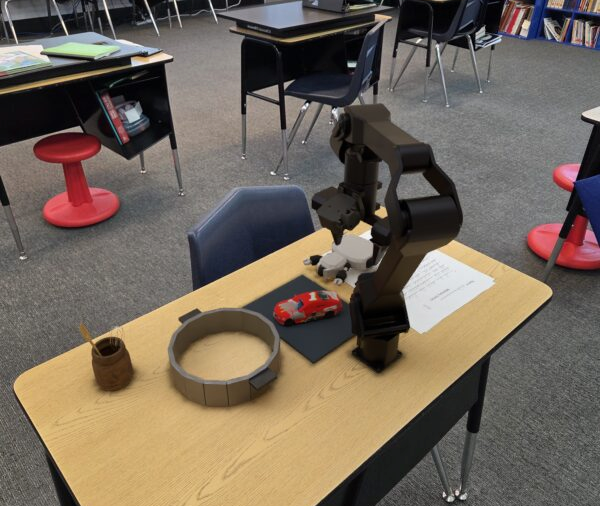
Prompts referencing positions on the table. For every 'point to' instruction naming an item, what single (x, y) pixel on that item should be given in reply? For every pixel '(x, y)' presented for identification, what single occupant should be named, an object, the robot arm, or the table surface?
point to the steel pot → (215, 322)
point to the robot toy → (343, 258)
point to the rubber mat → (311, 334)
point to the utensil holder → (110, 361)
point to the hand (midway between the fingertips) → (356, 254)
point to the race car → (307, 307)
